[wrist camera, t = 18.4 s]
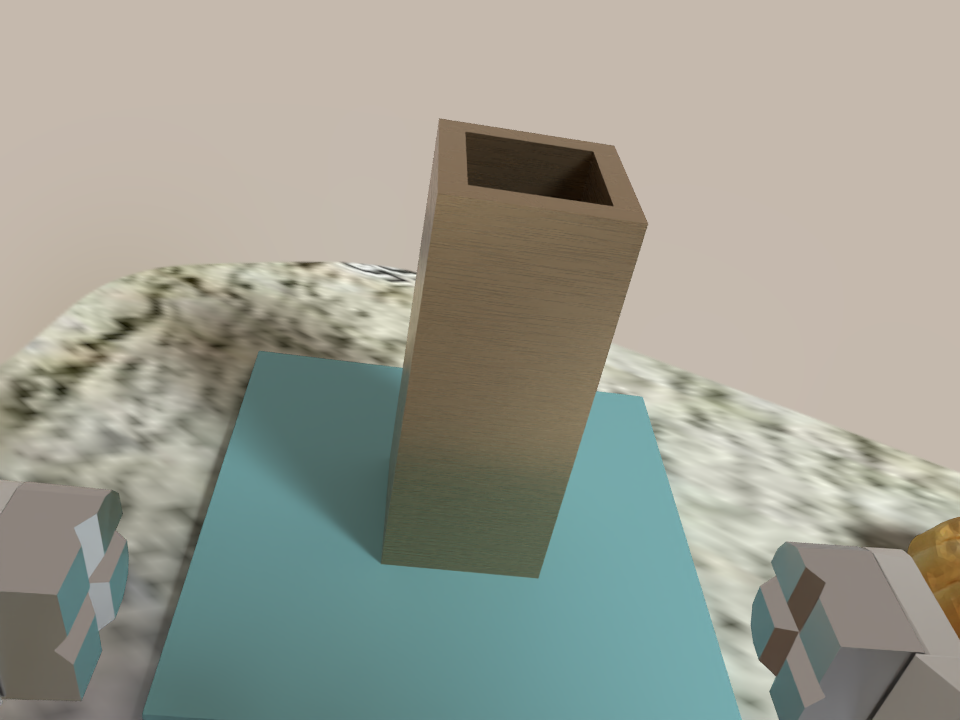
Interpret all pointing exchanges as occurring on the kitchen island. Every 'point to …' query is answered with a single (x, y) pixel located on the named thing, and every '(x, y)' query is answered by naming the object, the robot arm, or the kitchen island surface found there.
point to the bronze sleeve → (505, 344)
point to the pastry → (941, 566)
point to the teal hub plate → (428, 581)
